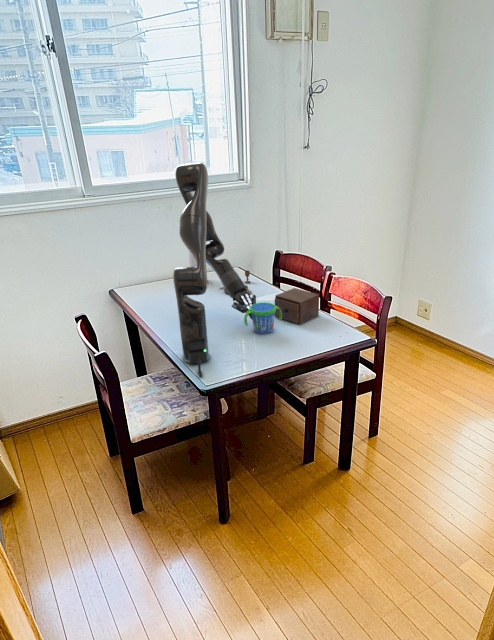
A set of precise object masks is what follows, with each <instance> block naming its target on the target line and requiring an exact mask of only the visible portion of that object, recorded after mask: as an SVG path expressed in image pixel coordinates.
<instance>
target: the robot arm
mask: <svg viewBox="0 0 494 640" xmlns="http://www.w3.org/2000/svg"><path fill="white" fill-rule="evenodd" d="M174 174H175V182H176V185H177V188H178V190H179V193H180V196H181V197H182V199H183V201H184V203H185V205H186V206H185V207H184V209H183V211H182V212H181V214H180V217H179V233H178V234H179V238H180V240H181V241H182V243H183V245H184V246H185V247H186V249H187V251H188V250H189V251H190V252H191V254H192V256H193V257H194V259H195V261H196V264H197V266H196V267H189V266H179V267H175V268H174V270H173V273H172V274H173V275H172V280H173V287H174V293H175V298H176V299H175V300H176V305H177V314H178V322H179V333H180V340H181V347H182V358H183V361H184V362H185V363H188V364H189V365H195V364H197V365H198V367H197V369H198V374H199V377H200V378H202V377H203V374H202V370H201V369H202V367H201V363H207V362H208V361H209V359H210V353H209V351H210V350H209V340H208V331H207V330H208V329H207V319H206V318H207V317H206V308H205V305H204V304H203V303H202V302H200V301H198V300H195V299H193V298H191V297H189V296H201V295H205V293H206V292H207V288H208V272H207V273H206V269H207V265H208V266H209V267H210V268H211V269H212V270H213V271H214V272H215V274H216V275H217V277H218V279H219V280H220V283H221V284H222V286H223V287H225V289H226V291H227V292H228V293H227V294H228V295H229V297H230V298H231V299H232V301H233V304H232V305H231V308H232V309H235V310H236V311H238V312H240V313H241V314H246V312H247V311H248V310H249V309H250V306H251V305H253V304H256V303H257V295H256V294H253V295H252V294H251V293H249V292H250V291H248V290H246V286H247V285H246V284H245V282H244V281H243V280H242V278H241V277H240V275H239V274H238V272H237V271H236V270H235V269H234V267H233V265H232V263H231V262H230V261H229V260H228V259H227V258H222V259H221V258H220V259H216V258H219V257H221V256H222V255H223V254H224V253H225V246H224V243H223V241H222V240H221V239H220V237H219V235H218V234H217V231H216V229H215V225H214V222H213V217H212V216H211V214H210V213H209V211H208V210H207V199H208V189H209V187H208V186H209V173H208V168H207V166H206V165H205V164H204V163H203V162H191V163H185V164H179V165H177V166H176V168H175V173H174ZM193 192H194V193H193ZM192 193H193V194H192ZM189 251H188V252H189ZM242 281H243V282H242ZM245 285H246V286H245ZM248 317H249V318H250V320H252V316H251V313H250V314H249V315H248Z"/></svg>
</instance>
